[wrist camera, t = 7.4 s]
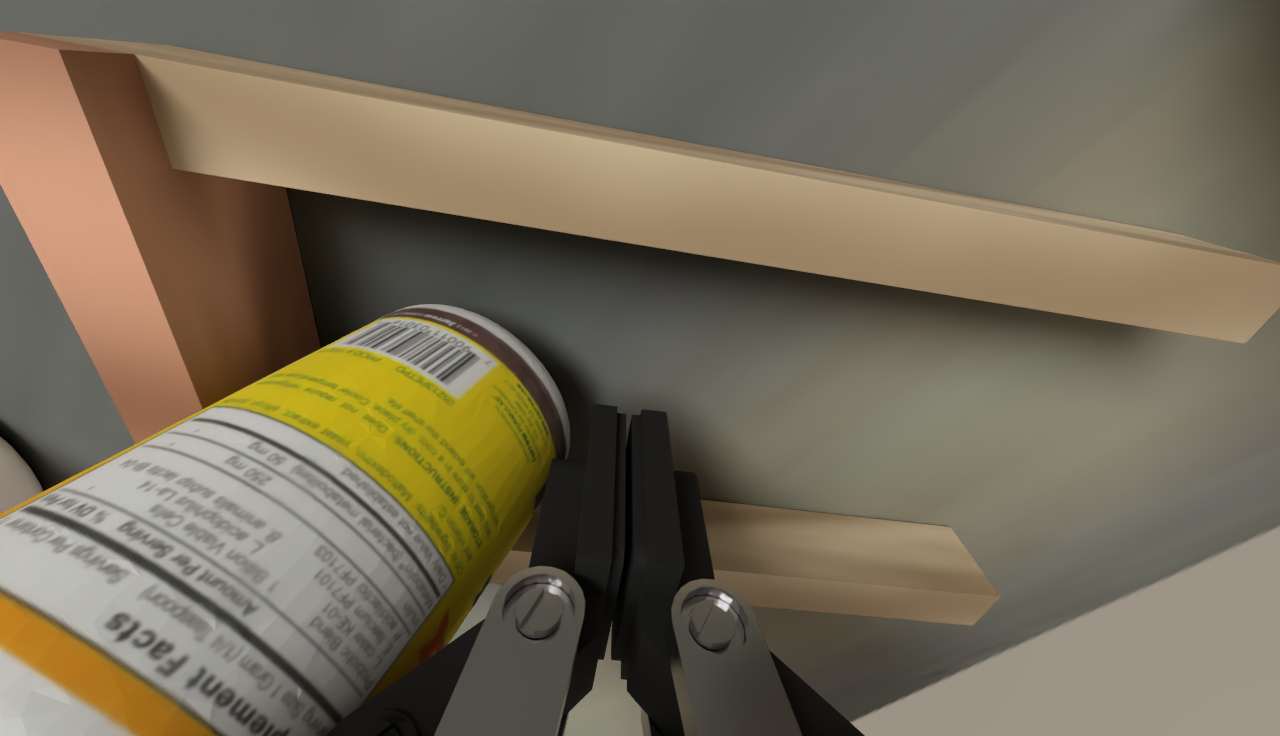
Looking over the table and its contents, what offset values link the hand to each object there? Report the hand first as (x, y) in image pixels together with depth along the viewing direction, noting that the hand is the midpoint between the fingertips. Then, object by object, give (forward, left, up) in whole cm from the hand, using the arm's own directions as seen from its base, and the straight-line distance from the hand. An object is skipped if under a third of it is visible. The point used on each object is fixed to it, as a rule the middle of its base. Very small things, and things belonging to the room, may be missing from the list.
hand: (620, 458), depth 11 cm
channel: (-1, +1, -2) cm, 3 cm away
